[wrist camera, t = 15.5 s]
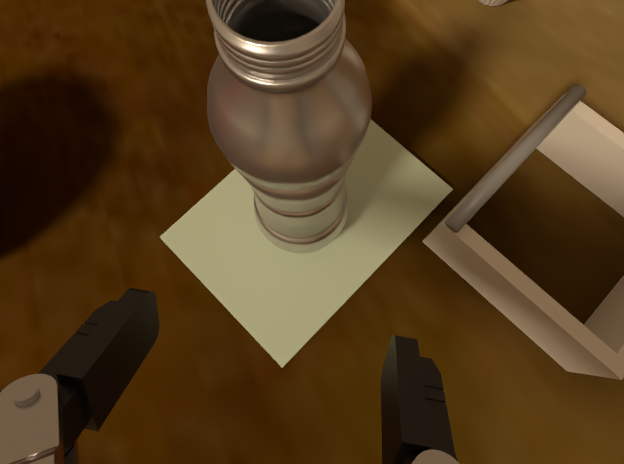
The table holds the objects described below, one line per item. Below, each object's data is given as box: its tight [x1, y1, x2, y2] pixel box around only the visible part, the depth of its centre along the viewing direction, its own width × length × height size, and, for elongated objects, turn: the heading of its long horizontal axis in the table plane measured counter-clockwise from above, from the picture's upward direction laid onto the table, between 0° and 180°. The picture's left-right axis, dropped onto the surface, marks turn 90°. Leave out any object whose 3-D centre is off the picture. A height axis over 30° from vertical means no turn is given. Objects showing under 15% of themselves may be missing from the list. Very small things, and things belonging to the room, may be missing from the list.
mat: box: [160, 119, 453, 368], centre depth 30 cm, size 18×13×1 cm
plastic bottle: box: [206, 0, 372, 254], centre depth 20 cm, size 6×7×20 cm
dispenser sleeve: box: [422, 85, 624, 380], centre depth 26 cm, size 13×13×6 cm
